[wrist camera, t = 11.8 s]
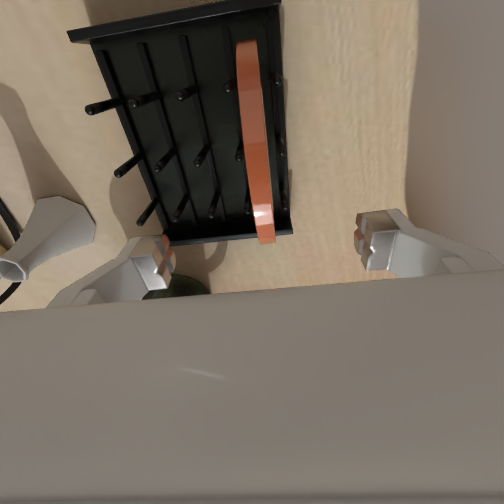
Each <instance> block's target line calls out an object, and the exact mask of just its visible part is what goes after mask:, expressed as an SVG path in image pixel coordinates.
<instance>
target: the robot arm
mask: <svg viewBox="0 0 504 504" xmlns="http://www.w3.org/2000/svg"><path fill="white" fill-rule="evenodd" d="M356 225H357V226H358V228H357V230H356V231H355V232H354V245H355V249H356V251H357V253H358V254H360V255H362V256H361V261H362V263H363V265H364V267H365V269H366V271H369V270H385V269H389V271H390V272H392V273H393V274H395V275H396V276H398V277H399V278H395V279H383V280H371V281H359V282H348V283H336V284H324V285H313V286H301V287H289V288H278V289H266V290H254V291H242V292H231V293H219V294H207V295H195V296H184V297H172V298H160V299H148V300H140V299H141V298H143V297H144V296H145V295H146V294H147V293H148V292H149V290H157V289H166V288H168V286H169V283H170V280H171V278H172V277H171V275H170V274H171V273H172V272H173V271H174V270H175V267H176V257H175V254H174V251H173V250H172V249H171V248H169V247H168V246H169V244H170V241H169V239H168V237H167V236H166V235H165V234H163V235H151V236H140V237H133V238H130V239H129V241H128V242H127V244H126V245H125V246H124V248H123V249H122V251H121V252H120V254H119V255H118V257H117V258H116V259H113V260H111V261H109V262H107V263H106V264H104V265H102V266H101V267H99V268H97V269H96V270H94V271H92V272H91V273H89V274H88V275H86V276H84V277H83V278H81V279H79V280H78V281H76V282H74V283H73V284H71V285H69V286H68V287H66V288H64V289H63V290H61V291H60V292H59V293H58V294H57V295H56V296H55V298H54V299H53V300H52V301H51V302H50V304H49V305H48V306H47V307H46V308H43V309H31V310H19V311H7V312H0V504H504V265H503V264H502V263H501V262H500V261H498V260H497V259H496V258H495V257H494V256H493V255H491V254H490V253H489V252H487V251H484V250H481V249H478V248H475V247H473V246H470V245H467V244H464V243H461V242H458V241H455V240H453V239H450V238H447V237H444V236H441V235H439V234H436V233H433V232H430V231H427V230H424V229H422V228H419V229H417V228H416V227H415V226H414V225H413V224H412V223H411V222H410V221H409V220H408V219H407V218H406V216H405V215H404V214H403V213H402V212H401V211H400V210H399V209H396V208H395V209H388V210H381V211H373V212H366V213H359V214H357V217H356Z"/></svg>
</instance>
